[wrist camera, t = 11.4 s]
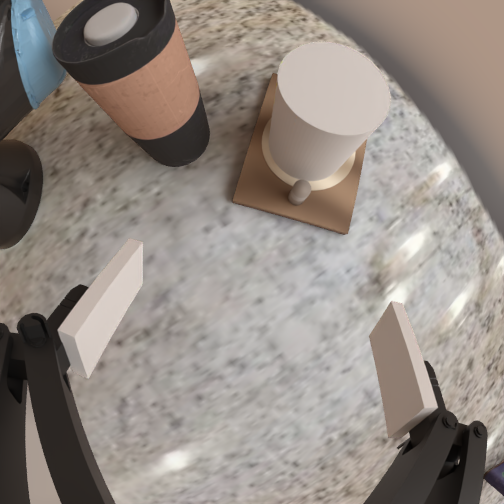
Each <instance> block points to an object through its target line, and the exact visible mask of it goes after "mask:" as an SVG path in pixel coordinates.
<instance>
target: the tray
mask: <svg viewBox="0 0 504 504" xmlns="http://www.w3.org/2000/svg"><path fill="white" fill-rule="evenodd" d="M277 76H278V74H275V73H273V74H272V77H271V80H270V83H269V86H268V89H267V92H266V95H265V98H264V101H263V104H262V107H261V110H260V113H259V116H258V119H257V122H256V126H255V129H254V132H253V135H252V138H251V141H250V145H249V148H248V151H247V154H246V157H245V161H244V164H243V167H242V171H241V174H240V177H239V180H238V184H237V187H236V190H235V194H234V197H233V203H235V204H239V205H243V206H246V207H250V208H254V209H257V210H261V211H265V212H268V213H272V214H275V215H279V216H282V217H286V218H290V219H293V220H296V221H300V222H303V223H307V224H310V225H314V226H317V227H320V228H324V229H327V230H330V231H334V232H337V233H340V234H343V235H345V234H348V231H349V226H350V222H351V218H352V213H353V209H354V204H355V199H356V195H357V190H358V185H359V180H360V175H361V169H362V164H363V159H364V153H365V147H366V141H367V139H366V140H365V141H364V142H363V143H362V145H361V146H360V147H359V148H358V149H357V150H356V151H355V152H354V153H353V154H352V155H351V156H350V157H349V158H348V159H347V160H346V162H345V163H344V164H343V165H342V166H341V167H340V168H339V169H338V170H337V171H336V172H335V173H334V174H332V175H331V176H329V177H327V178H325V179H322V180H318V181H306V180H299V179H296V178H294V177H291V176H290V175H288V174H286V173H285V172H284V171H282V170H281V169H280V168H279V167H278V165H277V164H276V163H275V161H274V160H273V158H272V156H271V153H270V150H269V134H270V127H271V119H272V112H273V105H274V98H275V90H276V83H277Z"/></svg>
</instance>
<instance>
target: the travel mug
mask: <svg viewBox="0 0 504 504" xmlns="http://www.w3.org/2000/svg"><path fill="white" fill-rule="evenodd" d="M52 51H53V55H54V57H55V59H56V60H57V61H58V62H59V63H60V64H61V65H62V67H63V68H64V69H65V70H66V71H67V72H68V73H69V74H70V75H71V76H72V77H73V78H74V79H75V80H76V81H77V82H78V84H79V85H80V86H81V87H82V88H83V89H84V90H85V91H86V92H87V93H88V94H89V95H90V96H91V97H92V98H93V99H94V100H95V102H96V103H97V104H98V105H99V106H100V107H101V108H102V109H103V110H104V111H105V112H106V113H107V114H108V115H109V116H110V117H111V118H112V119H113V120H114V122H115V123H116V124H117V125H118V126H119V127H120V128H121V129H122V130H123V131H124V132H125V133H126V134H127V135H128V136H129V137H131V138H132V139H133V140H134V141H135V142H136V143H137V144H138V145H139V146H141V147H142V148H143V149H144V150H145V151H146V152H147V153H148V154H149V155H151V156H152V157H153V158H154V159H155V160H157V161H158V162H159V163H161V164H163V165H166V166H172V167H178V166H183V165H187V164H189V163H191V162H193V161H194V160H196V159H197V158H198V157H199V156H200V155H201V154H202V153H203V152H204V150H205V149H206V147H207V145H208V142H209V137H210V131H209V125H208V121H207V117H206V113H205V109H204V105H203V101H202V98H201V94H200V90H199V86H198V83H197V80H196V77H195V74H194V71H193V68H192V65H191V62H190V59H189V56H188V53H187V50H186V47H185V44H184V41H183V38H182V35H181V32H180V30H179V27H178V24H177V21H176V18H175V15H174V12H173V9H172V6H171V3H170V0H84V1H82V2H81V3H80V4H79V5H77V6H76V7H75V8H74V9H73V10H72V11H71V12H70V13H69V14H68V15H67V16H66V18H65V19H64V20H63V21H62V23H61V24H60V26H59V27H58V29H57V31H56V33H55V35H54V38H53V42H52Z"/></svg>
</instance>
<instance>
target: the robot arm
mask: <svg viewBox="0 0 504 504" xmlns="http://www.w3.org/2000/svg"><path fill="white" fill-rule="evenodd" d="M55 33H56V29H55V26H54V24H53V22H52V20H51V18H50V15H49V13H48V11H47V9H46V7H45V5H44V3H43V1H42V0H0V249H6V248H9V247H12V246H13V245H15V244H16V243H18V242H19V241H20V240H21V239H22V238H23V236H24V235H25V234H26V233H27V231H28V229H29V228H30V226H31V224H32V222H33V220H34V218H35V215H36V213H37V210H38V206H39V203H40V198H41V193H42V184H43V174H42V166H41V162H40V159H39V156H38V155H37V153H36V151H35V150H34V149H33V148H32V147H30V146H28V145H27V144H25V143H23V142H21V141H17V140H3V139H4V138H5V137H6V135H7V134H8V133H9V132H10V131H11V130H12V129H13V128H14V127H15V126H16V125H17V124H18V123H19V122H20V121H21V120H22V119H23V118H24V117H25V116H26V115H28V114H29V113H30V112H31V111H32V110H33V109H37V108H38V107H39V105H40V103H41V102H42V101H43V100H44V99H45V98H46V97H47V96H48V95H49V94H50V93H52V92H53V91H54V90H55V89H56V88H57V87H58V86H59V85H60V84H61V83H62V82H63V80H64V78H65V76H66V73H67V71H66V70H65V69H64V68H63V67H62V65H61V64H60V63H59V62H58V61H57V60H56V59H55V57H54V55H53V51H52V42H53V38H54V35H55ZM142 285H143V242H142V241H138V240H134V239H130V238H129V240H128V241H127V242H126V243H125V244H124V245H123V247H122V248H121V249H120V250H119V251H118V252H117V254H116V255H115V256H114V257H113V258H112V260H111V261H110V262H109V263H108V264H107V266H106V267H105V268H104V269H103V271H102V272H101V273H100V274H99V276H98V277H97V278H96V279H95V281H94V282H93V283H92V284H91V286H90V287H87V286H84V285H81V284H80V285H78V286H76V287H75V288H73V289H72V290H70V292H69V293H68V294H67V295H66V297H65V299H63V300H62V302H61V303H60V305H58V307H57V308H56V309H55V310H54V312H53V313H52V314H51V316H50V317H49V318H48V320H47V321H46V318H45V317H44V316H43V315H41V314H38V313H30V314H28V315H25V316H24V317H23V318H21V319H20V321H19V322H18V325H17V330H18V333H19V334H18V333H11V332H10V331H9V329H8V327H7V326H6V325H5V324H3V323H0V504H30V499H29V491H28V482H27V469H26V451H25V415H26V396H27V383H28V386H29V392H30V397H31V403H32V408H33V413H34V417H35V422H36V426H37V430H38V434H39V438H40V442H41V445H42V449H43V452H44V456H45V459H46V462H47V465H48V468H49V471H50V474H51V477H52V480H53V483H54V485H55V488H56V491H57V493H58V496H59V498H60V501H61V503H62V504H115V502H114V500H113V498H112V496H111V494H110V492H109V490H108V487H107V485H106V483H105V481H104V479H103V477H102V474H101V472H100V470H99V467H98V465H97V463H96V460H95V458H94V455H93V453H92V450H91V448H90V445H89V442H88V440H87V437H86V434H85V431H84V429H83V426H82V423H81V420H80V417H79V413H78V410H77V407H76V404H75V400H74V397H73V393H72V390H71V386H70V382H69V378H68V375H67V370H68V368H69V366H71V368H72V371H73V373H75V374H77V375H80V376H82V377H84V378H87V379H89V377H90V375H91V373H92V371H93V369H94V368H95V366H96V364H97V362H98V360H99V358H100V357H101V355H102V353H103V351H104V349H105V347H106V346H107V344H108V342H109V340H110V339H111V337H112V335H113V333H114V332H115V330H116V328H117V326H118V325H119V323H120V321H121V319H122V318H123V316H124V314H125V313H126V311H127V309H128V308H129V306H130V304H131V303H132V301H133V299H134V298H135V296H136V294H137V293H138V291H139V289H140V288H141V286H142ZM369 338H370V342H371V347H372V351H373V356H374V360H375V365H376V370H377V375H378V380H379V385H380V390H381V396H382V401H383V407H384V413H385V419H386V426H387V432H388V438H402V437H403V436H404V435H406V434H407V433H408V432H409V433H410V438H409V439H407V440H406V441H405V442H403V443H402V444H400V445H399V446H398V447H397V448H398V449H399V448H401V447H402V446H403V447H402V449H401V450H400V452H399V454H398V455H397V457H396V458H395V460H394V462H393V463H392V465H391V466H390V468H389V469H388V471H387V472H386V474H385V475H384V476H383V478H382V479H381V481H380V482H379V484H378V485H377V486H376V488H375V489H374V490H373V492H372V493H371V494H370V496H369V497H368V498H367V500H366V501H365V502H364V504H479V501H480V496H481V490H482V484H483V477H484V469H485V461H486V450H487V430H486V427H485V426H484V424H483V423H481V422H480V421H473V422H472V423H471V424H470V425H468V426H467V425H464V424H461V423H458V420H457V418H456V416H455V415H454V414H453V413H451V412H450V411H447V410H446V407H445V404H444V401H443V397H442V394H441V391H440V387H439V386H438V385H439V384H438V381H437V380H436V375H435V372H434V369H433V368H432V366H431V365H430V363H429V362H428V361H424V360H423V357H422V354H421V351H420V349H419V346H418V343H417V340H416V337H415V335H414V332H413V329H412V327H411V324H410V321H409V319H408V316H407V314H406V311H405V309H404V306H403V304H402V303H398V302H393V301H391V302H390V304H389V305H388V307H387V309H386V310H385V312H384V313H383V315H382V317H381V318H380V320H379V321H378V323H377V325H376V326H375V328H374V329H373V331H372V332H371V334H370V335H369ZM459 459H460V461H459V464H458V460H459Z"/></svg>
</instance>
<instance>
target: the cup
mask: <svg viewBox="0 0 504 504" xmlns="http://www.w3.org/2000/svg"><path fill="white" fill-rule="evenodd" d="M390 104H391V96H390V90H389V87H388V84H387V82H386V80H385V78H384V76H383V74H382V73H381V71H380V70H379V69H378V68H377V66H376V65H375V64H374V63H373V62H372V61H371V60H369V59H368V58H367V57H366V56H364V55H363V54H361V53H360V52H358V51H356V50H354V49H352V48H350V47H347V46H345V45H341V44H338V43H333V42H311V43H306V44H303V45H301V46H298V47H296V48H295V49H293V50H292V51H290V52H289V53H288V54H287V55H286V56H285V57H284V59H283V60H282V62H281V64H280V66H279V70H278V76H277V83H276V90H275V98H274V105H273V112H272V119H271V127H270V134H269V150H270V153H271V156H272V158H273V160H274V161H275V163H276V164H277V165H278V167H279V168H280V169H281V170H282V171H284V172H285V173H286V174H288V175H290V176H291V177H294V178H296V179H299V180H306V181H318V180H322V179H325V178H327V177H329V176H331V175H332V174H334V173H335V172H336V171H337V170H338V169H339V168H340V167H341V166H342V165H343V164H344V163H345V162H346V160H347V159H348V158H349V157H350V156H351V155H352V154H353V153H354V152H355V151H356V150H357V149H358V148H359V147H360V146H361V145H362V143H363V142H364V141H365V140H366V139H367V138H368V137H369V136H370V135H371V134H372V133H373V132H374V131H375V130H376V129H377V128H378V126H379V125H380V124H381V123H382V122H383V121H384V120H385V118H386V117H387V115H388V112H389V109H390Z"/></svg>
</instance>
